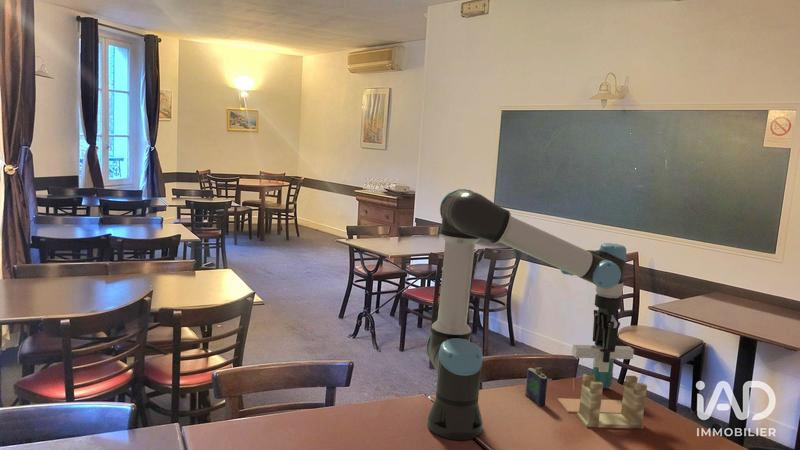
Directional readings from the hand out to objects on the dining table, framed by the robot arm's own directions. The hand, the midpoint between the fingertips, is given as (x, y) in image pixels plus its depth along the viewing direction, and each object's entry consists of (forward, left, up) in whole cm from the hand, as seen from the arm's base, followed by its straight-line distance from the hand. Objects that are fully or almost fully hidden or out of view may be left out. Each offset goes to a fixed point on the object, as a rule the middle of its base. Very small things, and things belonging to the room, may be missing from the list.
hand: (600, 369), depth 177 cm
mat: (0, 0, -12) cm, 12 cm away
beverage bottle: (+8, +14, -12) cm, 21 cm away
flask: (-18, +3, -12) cm, 22 cm away
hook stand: (0, -10, -12) cm, 16 cm away
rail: (0, 0, +4) cm, 4 cm away
